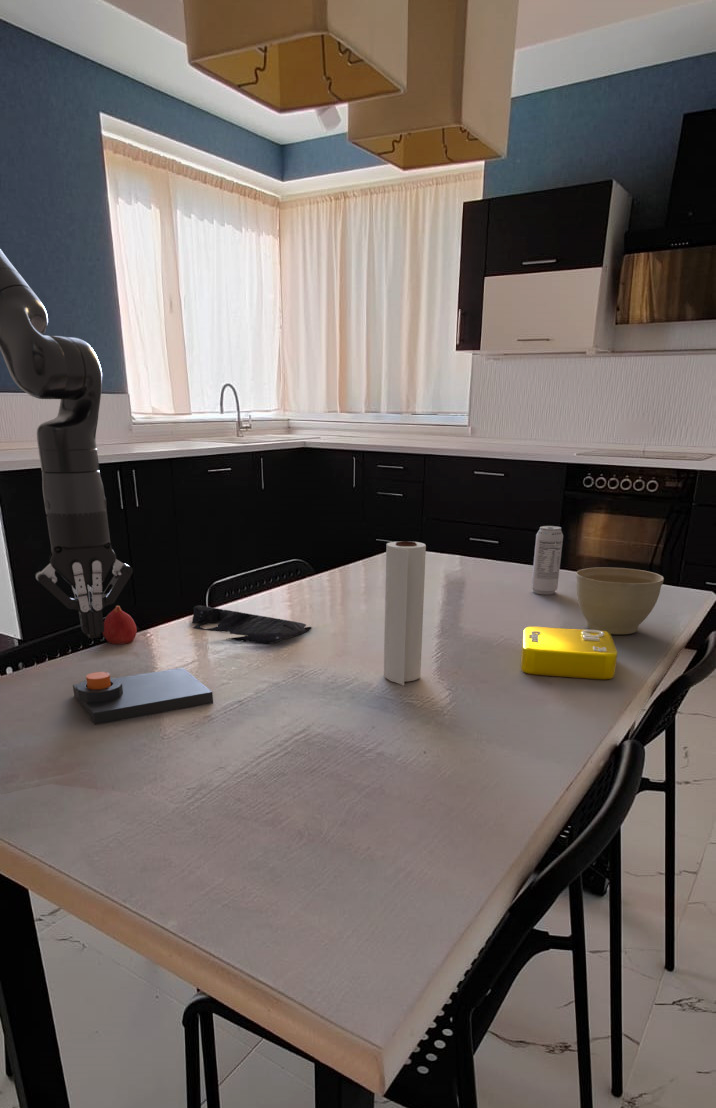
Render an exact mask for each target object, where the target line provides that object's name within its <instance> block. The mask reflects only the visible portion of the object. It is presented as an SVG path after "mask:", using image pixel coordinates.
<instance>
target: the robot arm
mask: <svg viewBox="0 0 716 1108" xmlns="http://www.w3.org/2000/svg"><path fill="white" fill-rule="evenodd" d="M48 323H49V318H48V313H47V310H46V308H45V306H44V304H43V303H42V301H41V299H40V298H39V297H38V295H37V294H36V293H35V292H34V290H33V289H32V288H31V287H30V285H29V284H28V282H26V280H25V279H24V278H23V276H22V275H21V274H20V272H19V271H18V270H17V269H16V267H15V266H14V265H13V263H12V262H11V261H10V260H9V258H8V257H7V256H6V254H5V253H4V252H3V250H2V249H1V248H0V353H1V355H2V356H3V360H4V362H5V365H6V367H7V369H8V372H9V375H10V377H11V379H12V380H13V382H14V383H15V384H16V385H17V387H19V389H21V390H22V391H23V392H24V393H26V394H27V395H29V396H30V397H32V398H35V399H40V400H60V402H59V408H58V412H57V415H56V417H54V418H53V419H50V420H47V421H45V422H42V423H40V424H39V425H38V426H37V428H36V442H37V450H38V456H39V464H40V469H41V478H42V481H41V483H42V484H41V485H42V487H41V488H42V496H43V502H44V503H43V504H44V510H45V517H46V523H47V530H48V536H49V542H50V555H49V557H48V564H47V565H46V566H45V567H44V568H43V569H42V570H40V571H37V572H36V573H35V574H34V576H35V579H36V580H37V581H38V583H39V584H41V585H42V586H43V587H44V588H45V589H46V590H47V591H48V592H50V594H52V595H53V596H54V597H55V598H56V599H57V600H58V601H59V602H60V603H61V604H62V605H63V606H64V607H66V609H68V610H75V611H78V615H79V616H78V617H79V623H80V629H81V631H82V633H83V634H84V635H85V636H87V637H88V639H95V638H101V636H102V635H101V633H102V632H104V616H103V615H104V614H103V610H104V608H105V607H108V606H109V605H114V604H115V602H116V601H117V599H118V597H119V595H120V594H121V592H122V591H123V589H124V588H125V586H126V584H127V583H128V581H129V580H130V578H131V576H132V575H133V573H134V569H133V567H132V566H130V565H129V564H127V563H124V562H122V561H121V560H119V559H117V554H116V552H115V551H114V549H113V548H112V544H111V534H110V527H109V520H108V518H109V517H108V510H107V498H106V496H105V495H106V494H105V488H104V484H103V479H102V476H101V472H100V462H99V455H98V446H97V442H96V438H97V437H96V434H97V427H98V422H99V415H100V413H99V412H100V406H101V397H102V389H103V372H102V367H101V364H100V361H99V359H98V356H97V354H96V352H95V351H94V349H93V347H91V345H90V344H89V343H88V342H87V341H85V340H83V339H81V338H78V337H74V336H61V335H50V334H49V335H48V334H45V332H46V331H47V328H48ZM56 572H57V574H59V576H60V577H61V578H62V579H63V580H64V581H65V582H66V583H67V584H69V585H70V586H71V590H72V592H73V595H74V598H73V597H70V596H69V595H68V594H67V593H66V592H65V591H63V589H61V588H60V587H59V586H58V585H57V584H56V583H57V582H58V577H57V576H56ZM110 572H112V573H111V574H112V575H113V577H112V578H111V580H110V581H109V583H108V584H107V586H106V588H105V589H104V591H103V583H104V582H105V581H106V578H107V577H108V575H109V573H110ZM102 634H103V633H102Z"/></svg>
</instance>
